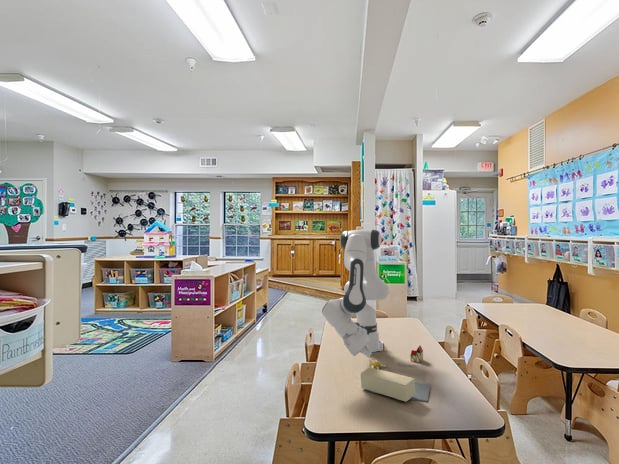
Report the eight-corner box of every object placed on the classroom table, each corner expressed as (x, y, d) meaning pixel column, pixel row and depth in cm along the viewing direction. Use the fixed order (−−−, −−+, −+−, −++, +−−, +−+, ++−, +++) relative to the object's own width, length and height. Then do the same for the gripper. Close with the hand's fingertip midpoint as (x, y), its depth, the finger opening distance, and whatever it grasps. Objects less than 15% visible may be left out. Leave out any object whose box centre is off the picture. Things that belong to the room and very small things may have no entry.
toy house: (424, 363, 181) (424, 347, 181) (410, 363, 182) (410, 347, 182) (423, 359, 186) (422, 344, 186) (410, 359, 188) (409, 343, 188)
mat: (378, 377, 163) (378, 376, 163) (430, 385, 154) (430, 384, 154) (369, 391, 149) (369, 390, 149) (427, 402, 140) (427, 400, 140)
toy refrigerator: (361, 390, 151) (406, 403, 137) (360, 373, 151) (405, 384, 137) (371, 383, 157) (415, 395, 143) (370, 366, 157) (414, 377, 143)
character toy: (373, 365, 170) (365, 359, 177) (373, 371, 170) (365, 365, 177) (387, 362, 173) (379, 357, 180) (387, 369, 173) (379, 363, 180)
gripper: (346, 333, 150) (369, 359, 146) (359, 321, 169) (380, 344, 165) (336, 342, 152) (358, 368, 148) (350, 329, 171) (370, 352, 167)
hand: (370, 355), depth 157 cm, fingers closed
